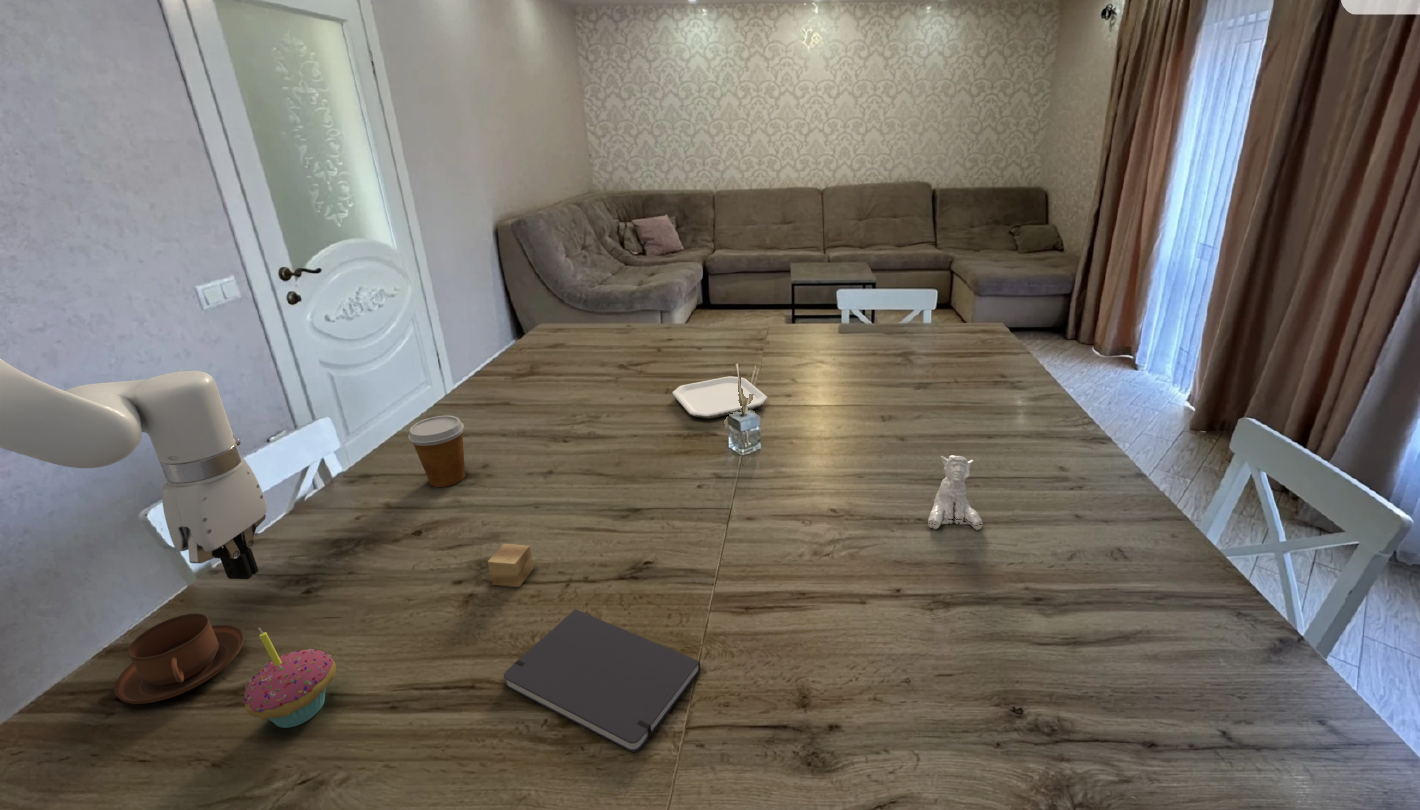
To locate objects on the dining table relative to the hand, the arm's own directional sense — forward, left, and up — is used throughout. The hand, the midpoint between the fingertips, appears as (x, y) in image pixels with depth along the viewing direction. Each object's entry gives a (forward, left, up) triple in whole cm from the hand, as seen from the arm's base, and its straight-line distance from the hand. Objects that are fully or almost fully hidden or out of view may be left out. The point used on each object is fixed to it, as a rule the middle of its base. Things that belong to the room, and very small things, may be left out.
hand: (243, 575), depth 88 cm
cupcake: (-6, -26, -6) cm, 27 cm away
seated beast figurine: (+69, -86, -6) cm, 110 cm away
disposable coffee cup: (+36, +7, -6) cm, 37 cm away
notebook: (+14, -55, -6) cm, 57 cm away
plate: (+92, -21, -6) cm, 94 cm away
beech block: (+22, -29, -6) cm, 36 cm away
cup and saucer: (-10, -6, -6) cm, 13 cm away
